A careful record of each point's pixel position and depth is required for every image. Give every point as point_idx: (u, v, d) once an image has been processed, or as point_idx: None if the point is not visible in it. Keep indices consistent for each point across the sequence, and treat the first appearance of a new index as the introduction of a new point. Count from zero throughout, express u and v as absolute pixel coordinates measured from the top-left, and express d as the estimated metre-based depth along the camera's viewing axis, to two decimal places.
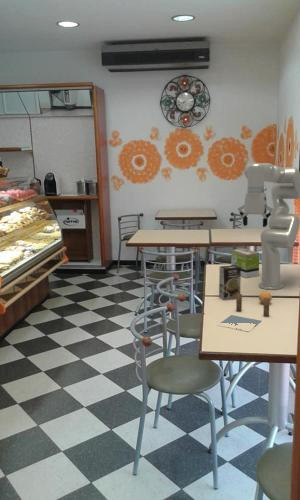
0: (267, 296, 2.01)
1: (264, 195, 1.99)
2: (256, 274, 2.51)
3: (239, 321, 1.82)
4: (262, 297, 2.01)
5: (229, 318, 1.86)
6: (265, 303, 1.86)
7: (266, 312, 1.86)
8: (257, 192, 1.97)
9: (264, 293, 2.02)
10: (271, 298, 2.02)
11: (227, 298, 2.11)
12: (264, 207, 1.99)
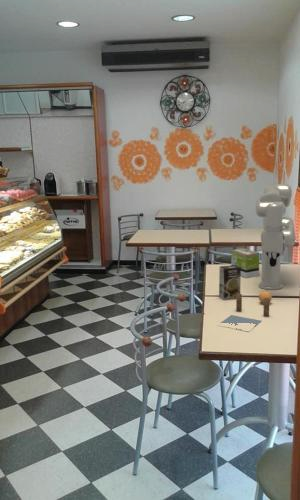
0: (267, 296, 2.01)
1: (282, 234, 2.02)
2: (256, 274, 2.51)
3: (239, 321, 1.82)
4: (262, 297, 2.01)
5: (229, 318, 1.86)
6: (265, 303, 1.86)
7: (266, 312, 1.86)
8: (276, 231, 2.01)
9: (264, 293, 2.02)
10: (271, 298, 2.02)
11: (227, 298, 2.11)
12: (282, 246, 2.02)
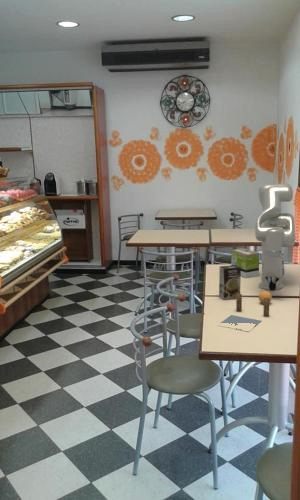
0: (267, 296, 2.01)
1: (282, 259, 2.04)
2: (256, 274, 2.51)
3: (239, 321, 1.82)
4: (262, 297, 2.01)
5: (229, 318, 1.86)
6: (265, 303, 1.86)
7: (266, 312, 1.86)
8: (275, 256, 2.03)
9: (264, 293, 2.02)
10: (271, 298, 2.02)
11: (227, 298, 2.11)
12: (282, 271, 2.04)
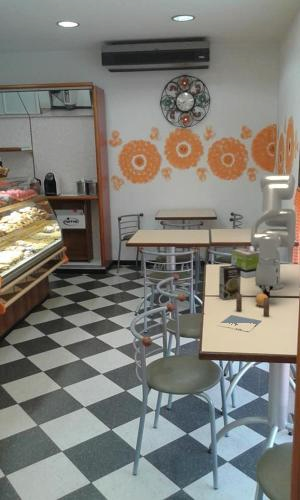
0: None
1: (276, 267, 1.98)
2: None
3: (239, 321, 1.82)
4: (259, 305, 1.99)
5: (229, 318, 1.86)
6: (265, 303, 1.86)
7: (266, 312, 1.86)
8: (269, 264, 1.97)
9: (260, 302, 1.98)
10: None
11: (227, 298, 2.11)
12: (276, 279, 1.98)
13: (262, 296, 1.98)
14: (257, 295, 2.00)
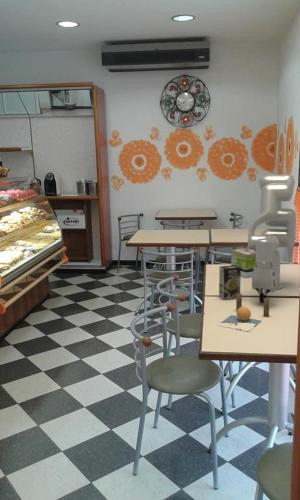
0: (247, 319, 1.82)
1: (272, 270, 1.95)
2: None
3: (239, 321, 1.82)
4: None
5: (229, 318, 1.86)
6: (265, 303, 1.86)
7: (266, 312, 1.86)
8: (265, 268, 1.94)
9: (242, 320, 1.82)
10: (250, 314, 1.81)
11: (227, 298, 2.11)
12: (272, 283, 1.95)
13: (242, 316, 1.80)
14: (237, 313, 1.82)
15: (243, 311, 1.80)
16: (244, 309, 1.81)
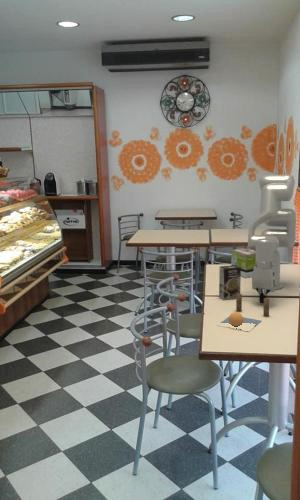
0: None
1: (272, 270, 1.95)
2: None
3: None
4: (235, 312, 1.77)
5: None
6: (265, 303, 1.86)
7: (266, 312, 1.86)
8: (265, 268, 1.94)
9: None
10: (242, 321, 1.75)
11: (227, 298, 2.11)
12: (272, 283, 1.95)
13: None
14: None
15: None
16: None
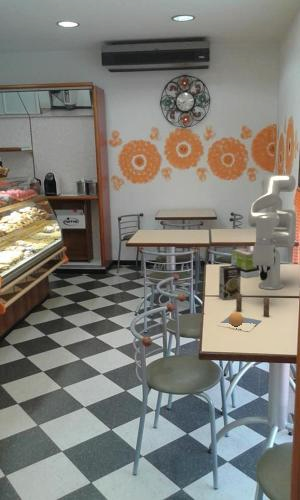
0: None
1: (273, 247, 1.93)
2: (256, 274, 2.51)
3: None
4: (235, 312, 1.77)
5: None
6: (265, 303, 1.86)
7: (266, 312, 1.86)
8: (266, 244, 1.92)
9: None
10: (242, 321, 1.75)
11: (227, 298, 2.11)
12: (273, 259, 1.94)
13: None
14: None
15: None
16: None
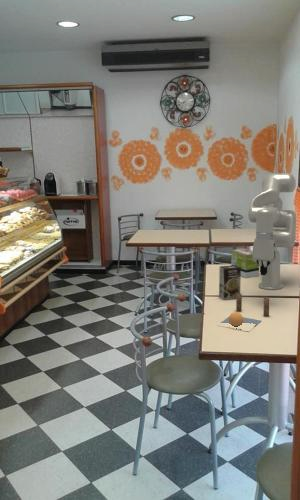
0: None
1: (273, 241, 1.93)
2: (256, 274, 2.51)
3: None
4: (235, 312, 1.77)
5: None
6: (265, 303, 1.86)
7: (266, 312, 1.86)
8: (266, 239, 1.92)
9: None
10: (242, 321, 1.75)
11: (227, 298, 2.11)
12: (273, 254, 1.93)
13: None
14: None
15: None
16: None
